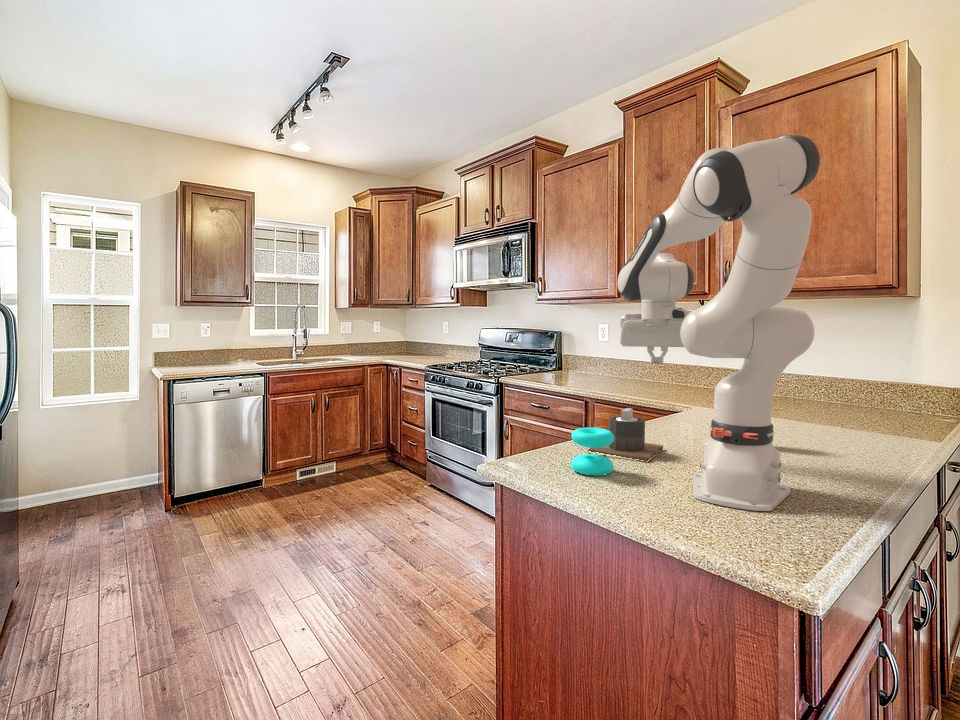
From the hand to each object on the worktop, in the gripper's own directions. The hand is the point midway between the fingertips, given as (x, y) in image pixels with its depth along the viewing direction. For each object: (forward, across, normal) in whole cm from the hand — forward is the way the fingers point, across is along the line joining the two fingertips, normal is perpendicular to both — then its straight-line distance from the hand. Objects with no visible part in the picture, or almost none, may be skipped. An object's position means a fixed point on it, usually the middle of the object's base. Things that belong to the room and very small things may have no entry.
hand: (657, 363), depth 138 cm
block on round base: (+17, -7, -5) cm, 19 cm away
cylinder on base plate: (+24, -7, -5) cm, 26 cm away
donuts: (+25, -8, -28) cm, 39 cm away
